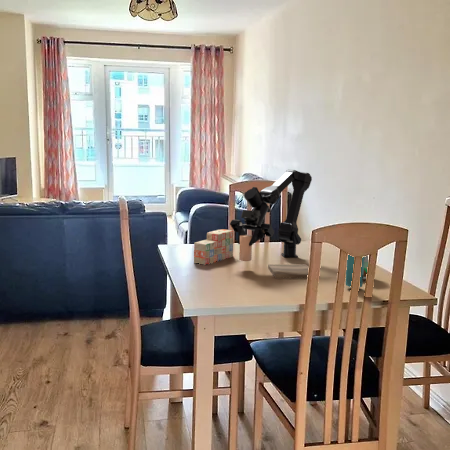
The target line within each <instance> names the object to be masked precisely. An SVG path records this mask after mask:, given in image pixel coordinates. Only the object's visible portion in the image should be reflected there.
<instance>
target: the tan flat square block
mask: <svg viewBox="0 0 450 450" xmlns="http://www.w3.org/2000/svg"><path fill="white" fill-rule="evenodd" d="M308 267H309V266H308V265H307V264H306V263H304V264H303V263H299V264H298V263H291V264H288V263H287V264H283V263H282V264H280V263H279V264H268V266H267V268H268V270H269V271H270V273H271V274H272V276H273V277H274V278H275V279H276V280H277V279H279V280H280V279H284V280H285V279H308V278H307V275H308Z"/></svg>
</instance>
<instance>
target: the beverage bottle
mask: <svg viewBox="0 0 450 450" xmlns="http://www.w3.org/2000/svg"><path fill="white" fill-rule="evenodd" d="M364 259H365V258H364V257H363V258H362V267H361V277H360V287H359V288H362V287H363V285H364V281H363V279H364V278H363V275H364V274H363V272H364ZM353 264H354V257H352V256H350V255H348V260H347V259H346V267H347V270H346V269H345V275H346V277H345V278H346V279H345V280H346V281H345V286H347V287H349V288H351V287H350V286H351V281H352V273H353Z"/></svg>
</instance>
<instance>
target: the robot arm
mask: <svg viewBox="0 0 450 450" xmlns="http://www.w3.org/2000/svg"><path fill="white" fill-rule="evenodd" d="M312 178H313V177H312V175H311V174H310V173H309V172H303V171H298V170H295V169H287V170H286V171H284V174H283V175H281V177H280V178H278V179H277V180H276V181H275V182H274V183H273V184H272V185H270V186H266V187H265V188H263V189H262V190H260V191H259V189H258V187H255V186H252V188H250V189H247V191H245V192H244V194H243V198H244V199H245V200H246V202H247V203H248V205H249V206H250V208H253V209H252V210H248V209H242V212H241V217H240V218H242V219H244V220H243V221H244V223H243V222H242V221H241V219H231V221H230V223H229V225H230V227H231V228H232V231H233V232H234V233H238V235H237V244H238V245H240V235H247V232H246V230H247V231H248V230H249V231H253V234H252V235H251V236H252V238H251V240H250V243H249V246H251V245H252V246H253V245H254V244H255V243H256V242H258V241H259V240H262V239H263V238H266V237H269V238H272V237H274V234H275V230H274V229H273V227H272V224H270V223H265V217H266V214H267V213H271V212H272V211H271V208H270V205H275V204H277V202H278V200H279V199H280V197H281V193H282V192H283V191H284V190H285V189H287V187H288V186H289V185H292V190H293V191H292V195H291V198H290V199H291V200H290V203H289V206H288V210H287V214H286V218H285V220H284V221H283V222H280V223H279V228H278V230H277V231H278V233H277V235H278V239H279V243H283V252H281V255H282V257H283V258H298V257H299V255H298V254H297V245H300V244H301V243H302V238H301V237H300V235H299V233H298V232H299V227H298V224H297V223H298V218H299V214H300V210H301V206H302V203H303V199H304V195H305V192H306V191H307V190H308V189H309V188H310V186H311V184H312V180H313V179H312ZM268 204H269V205H268Z"/></svg>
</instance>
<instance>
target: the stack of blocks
mask: <svg viewBox="0 0 450 450" xmlns="http://www.w3.org/2000/svg"><path fill="white" fill-rule="evenodd" d="M193 245H194V246H193V248H194V249H193V264H195V263H199V264H198V265H200V264H204V265H203V266H207V265H206V264H208V265H210V264H209V263H211V264H214V263H217V262H220V261H223V260H227V259H229V258H232V257H233V256H234V230H233V229H232V230H231V229H223V228H222V229H216V230H215V229H214V230H212V231H209V232H207V233H206V239H203V240H198V241H196V242H195V241H194V244H193ZM226 258H227V259H226ZM222 259H223V260H222ZM219 260H220V261H219ZM216 261H217V262H216ZM213 262H214V263H213Z"/></svg>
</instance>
